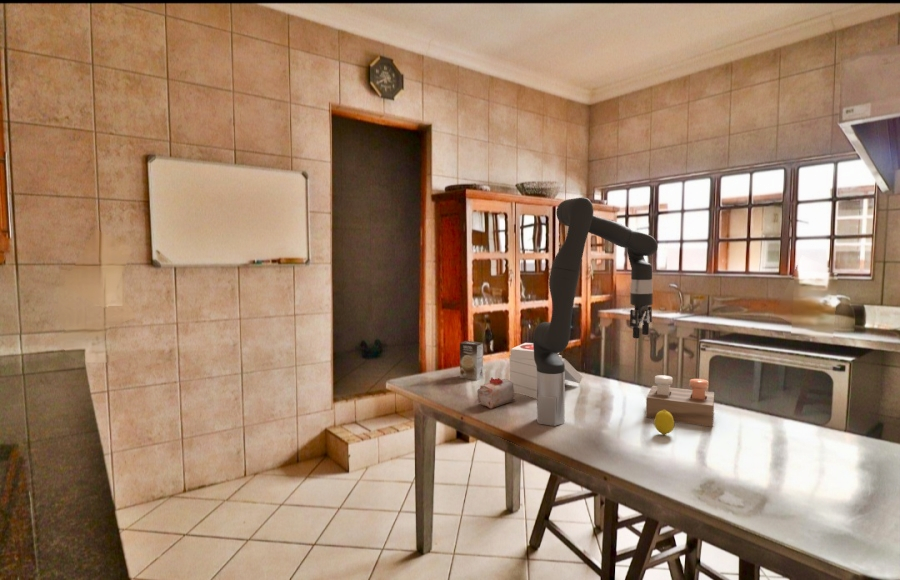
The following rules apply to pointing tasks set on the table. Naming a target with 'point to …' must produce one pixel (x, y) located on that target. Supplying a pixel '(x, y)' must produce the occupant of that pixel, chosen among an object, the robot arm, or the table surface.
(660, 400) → the walnut block
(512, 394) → the food item
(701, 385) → the terracotta plunger
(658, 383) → the white rounded piece
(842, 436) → the table surface
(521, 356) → the pizza boxes
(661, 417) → the lemon
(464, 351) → the coffee box
